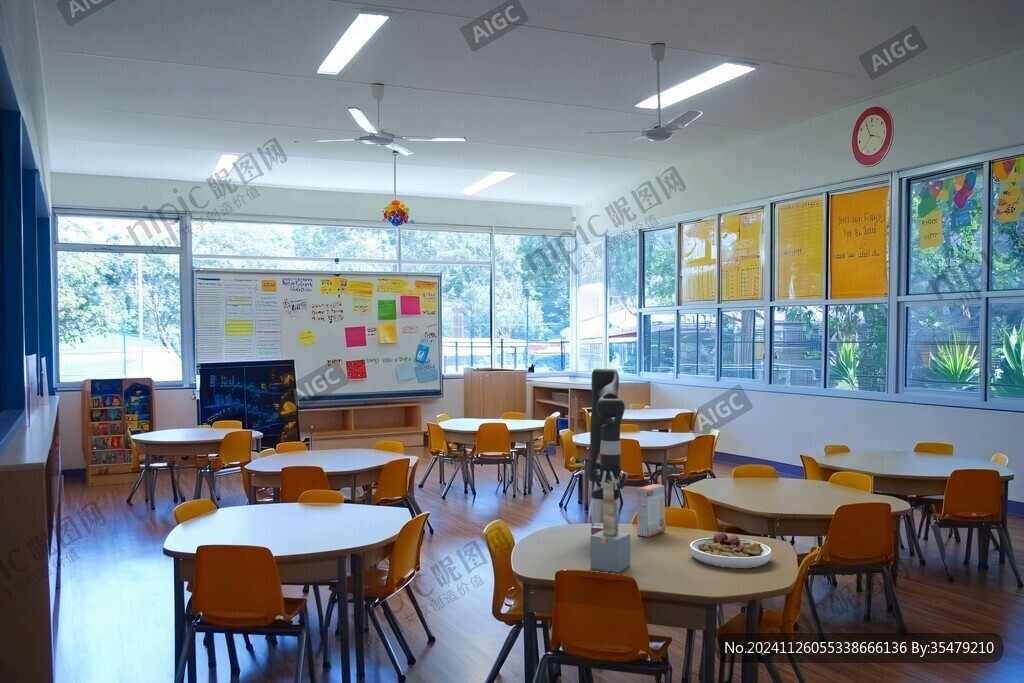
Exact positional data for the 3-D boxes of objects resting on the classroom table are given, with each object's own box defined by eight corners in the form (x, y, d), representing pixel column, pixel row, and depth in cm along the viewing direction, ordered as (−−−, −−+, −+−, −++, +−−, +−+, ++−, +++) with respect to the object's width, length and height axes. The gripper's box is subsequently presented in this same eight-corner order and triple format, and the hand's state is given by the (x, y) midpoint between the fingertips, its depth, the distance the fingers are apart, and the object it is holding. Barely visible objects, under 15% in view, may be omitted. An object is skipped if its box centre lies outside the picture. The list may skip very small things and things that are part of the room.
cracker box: (654, 530, 336) (653, 483, 336) (665, 532, 332) (665, 485, 332) (636, 535, 326) (636, 487, 326) (648, 538, 322) (647, 489, 322)
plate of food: (784, 570, 275) (784, 549, 275) (703, 571, 273) (703, 550, 273) (753, 549, 305) (753, 529, 305) (681, 550, 303) (681, 530, 303)
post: (607, 544, 281) (607, 480, 281) (618, 546, 279) (618, 481, 279) (602, 547, 277) (602, 482, 278) (613, 549, 275) (613, 483, 275)
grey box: (603, 561, 285) (603, 529, 286) (630, 565, 279) (630, 533, 280) (589, 568, 276) (589, 536, 276) (616, 573, 270) (616, 540, 270)
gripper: (632, 452, 278) (632, 499, 278) (597, 449, 285) (597, 495, 285) (623, 455, 271) (623, 502, 271) (588, 452, 279) (588, 498, 279)
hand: (610, 498), depth 278 cm, fingers closed on post, 4 cm apart
